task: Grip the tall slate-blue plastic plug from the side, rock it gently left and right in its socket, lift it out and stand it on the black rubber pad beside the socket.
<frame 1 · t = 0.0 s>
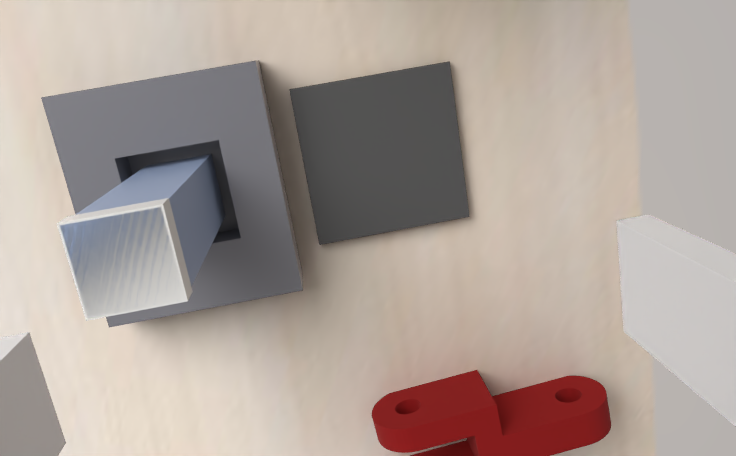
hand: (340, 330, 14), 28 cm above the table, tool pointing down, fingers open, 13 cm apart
mat: (381, 154, 42), on the table
plug: (186, 190, 41), resting on socket
socket: (187, 189, 41), on the table
mechanical linkage: (484, 410, 48), on the table
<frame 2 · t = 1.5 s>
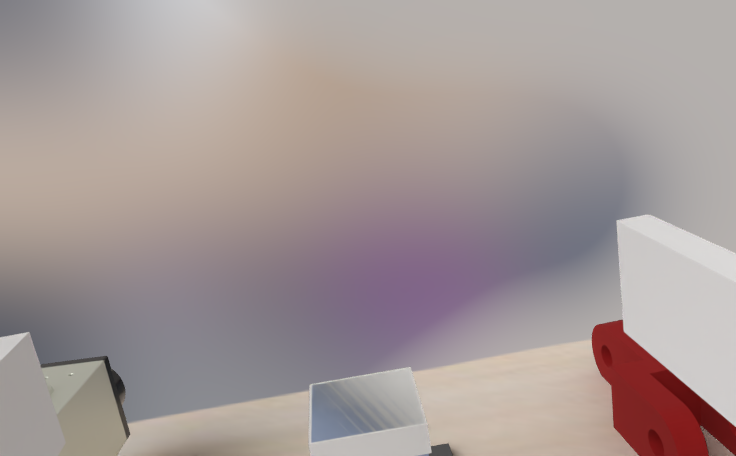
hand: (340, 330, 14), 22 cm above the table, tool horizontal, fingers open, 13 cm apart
mechanical linkage: (661, 421, 46), on the table
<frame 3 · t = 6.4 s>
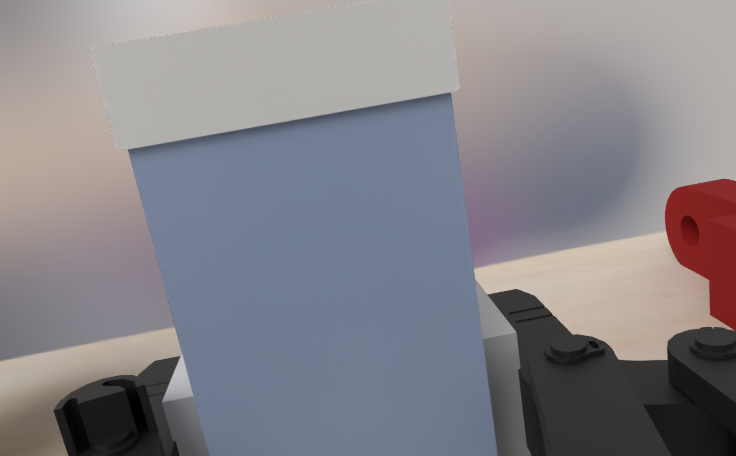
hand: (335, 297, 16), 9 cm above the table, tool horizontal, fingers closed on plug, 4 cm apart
when the fingers open (11 cm above the table, at t = 11.9 s): plug drops 1 cm, resting on mat.
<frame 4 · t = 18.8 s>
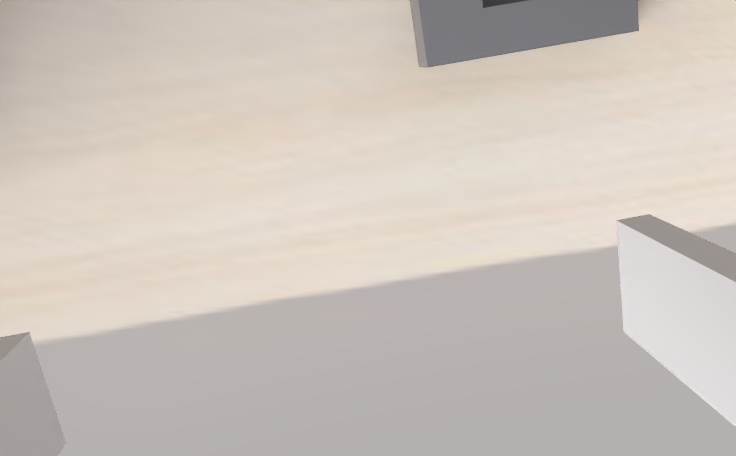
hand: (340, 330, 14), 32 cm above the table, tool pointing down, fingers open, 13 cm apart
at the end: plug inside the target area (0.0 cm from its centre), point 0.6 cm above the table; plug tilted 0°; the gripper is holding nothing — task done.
